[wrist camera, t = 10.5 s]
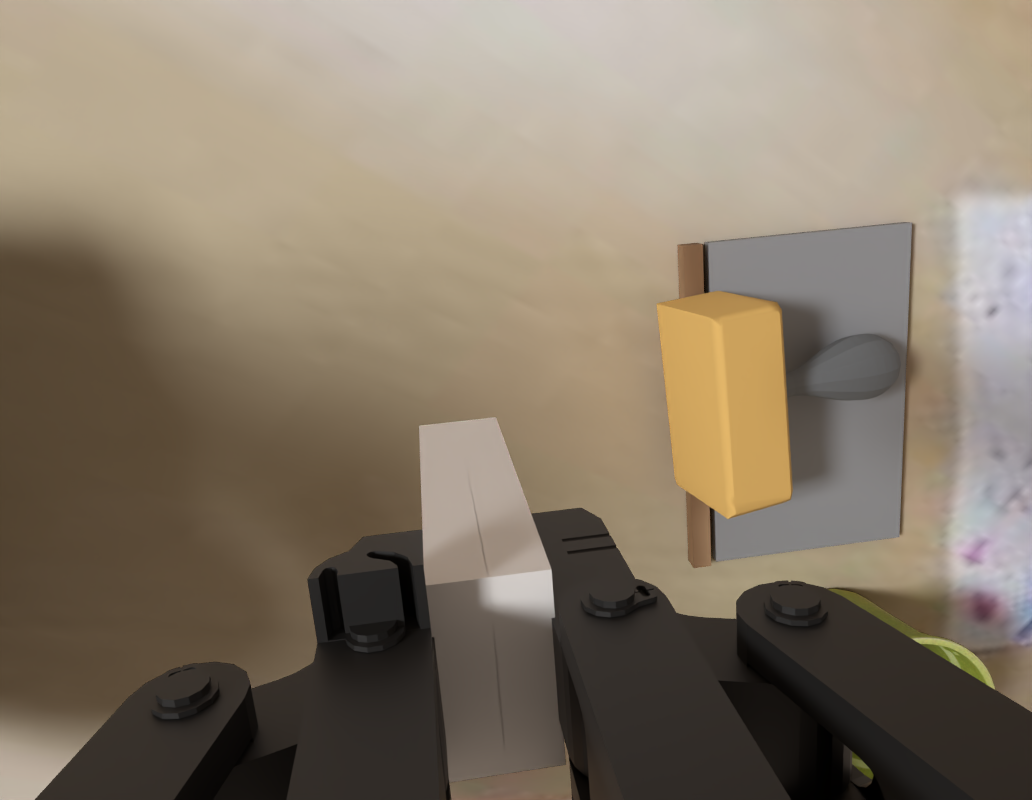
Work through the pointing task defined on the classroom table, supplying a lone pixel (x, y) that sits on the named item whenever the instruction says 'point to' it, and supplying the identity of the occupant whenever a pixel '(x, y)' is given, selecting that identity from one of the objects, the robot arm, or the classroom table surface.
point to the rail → (696, 509)
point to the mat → (819, 421)
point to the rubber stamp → (749, 394)
